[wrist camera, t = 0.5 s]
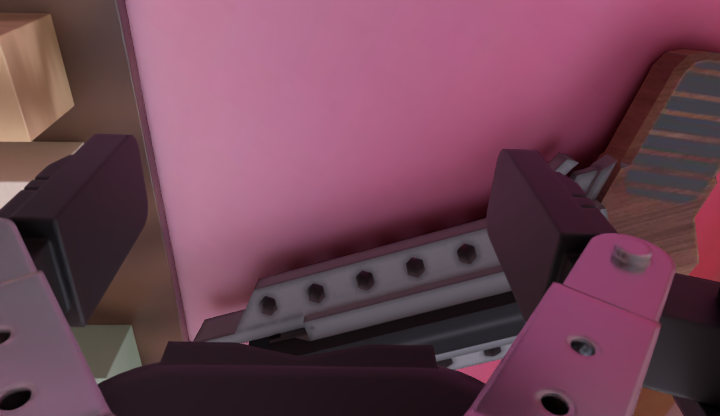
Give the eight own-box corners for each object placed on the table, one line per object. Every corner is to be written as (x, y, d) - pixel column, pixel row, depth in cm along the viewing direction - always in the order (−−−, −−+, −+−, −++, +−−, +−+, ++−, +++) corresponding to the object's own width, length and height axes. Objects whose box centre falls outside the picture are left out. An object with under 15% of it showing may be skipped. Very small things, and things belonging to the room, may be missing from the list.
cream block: (-4, 140, 29) (-59, 181, 25) (84, 141, 29) (43, 181, 25) (22, 213, 31) (-24, 261, 27) (103, 214, 31) (68, 261, 27)
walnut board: (-130, -57, 24) (-146, -55, 24) (115, -51, 25) (107, -48, 24) (49, 389, 40) (43, 400, 39) (198, 388, 40) (195, 399, 40)
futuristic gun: (114, 233, 28) (224, 452, 32) (810, 31, 23) (816, 317, 28) (162, 192, 34) (248, 381, 39) (718, 27, 30) (736, 262, 34)
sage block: (61, 324, 35) (26, 379, 31) (131, 323, 36) (105, 378, 32) (78, 372, 38) (47, 429, 34) (144, 372, 38) (121, 428, 34)
